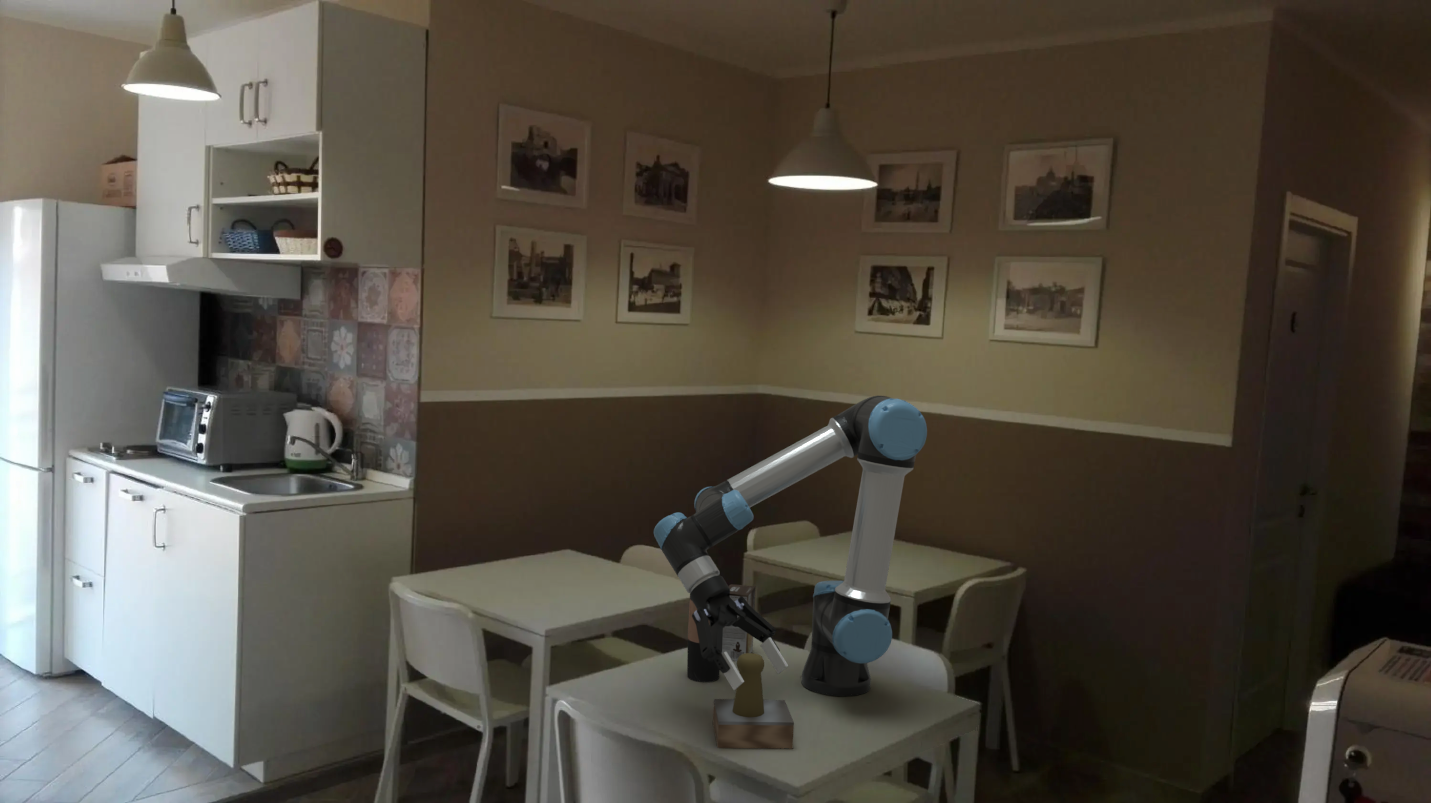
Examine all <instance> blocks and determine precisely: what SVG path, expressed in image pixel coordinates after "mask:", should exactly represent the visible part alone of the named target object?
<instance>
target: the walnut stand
mask: <svg viewBox="0 0 1431 803" xmlns="http://www.w3.org/2000/svg"><path fill="white" fill-rule="evenodd" d="M734 699H735V698H713V709H712V710H713V712H712V727H713V732H714V737H715V740H716V746H717V749H724V748H725V749H780V748H781V749H784V748H789V750H790V749H793V748H794V747H793V745H794V729H795V728H794V727H795V725H794V724H795V722H794V720H793V717H792V714H791V712H790V710H789V709H790V708H789V706H788V705H787V702H786V699H763V703H764V714H763V715H761V716H758V717H743V716H739V715H736V714H735V713H733V711H732V710H733V705H734Z"/></svg>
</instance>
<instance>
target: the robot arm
mask: <svg viewBox="0 0 1431 803" xmlns="http://www.w3.org/2000/svg"><path fill="white" fill-rule="evenodd" d="M926 422H927V421H926V418H925V417H924V415H923V414H922V413H921V411H920V410H919V409H918V408H917V407H916V406H914V405H913V404H912V403H910V402H908V401H907V400H904V399H900V398H892V397H890V396H887V395H873V396H869V397H866V398H864V399H862V400H861V401H859V402H857V403H855V404H853V405H852V406H850V407H849V408H847V409H845V410H844V411H841V412H840V413H839V414H836V415H834V416H832V417H831V418H830V419H829V421H828V424H827V426H824V427H822V428H820V429H819V430H817V431H814V432H813V433H811V434H810V435H808V436H806V437H804V438H802V439H800V440H798V441H796V442H795V443H793V444H791V445H790V446H787V447H786V448H784V449H781V450H780V451H778V452H776V453H774V454H772V455H771V456H769V457H767V458H766V459H763V460H761V461H759V462H757V463H756V464H754V465H752V466H751V467H748V468H746V469H745V470H743V471H741V472H740V473H737V474H736V475H734V476H732V477H730V478H728V479H726V480H724V481H723V482H721V483H718V484H717V485H715V486H706V487H703V488H702V489H701V490H699V492H697V494H696V496H695V499H694V503H693V504H694V511H695V513H694V514H692V515H691V516H688V517H687V516H685V514H684V513H682V512H674V513H672V514H670V515H667V516H665V517H663V518H662V519H661V520H659V521H658V523H657V524H656V525H655V527H654V529H653V535H654V538H655V540H656V542H657V544H658V546H659V548H660V550H661V551H662V554H663V555H664V557H665V558H666V560H667V562H668V563H669V564H670V567H671V568H672V569H673V571H674V573H675V574H676V576H677V577H678V579H679V581H680V582H681V584H682V585H683V587H684V589H685V591H686V592H687V593H688V594H689V599H690V598H691V600H692V601H693V603H694V605H695V606H696V608H697V610H696V611H695V612H694V613H693V614H692V618H693V620H694V622H695V624H696V628H697V633H698V639H699V644H700V649H701V655H702V657H703V658H704V659H706V658H707V659H708V661H710V662H712V661H713V660H714V661H715V663H716V664H717V666H718V668H719V669H720V673H722V674H723V675H724V677H725V678H726V680H727V682H728V684H729V685H730V687H731V688H732V690H733V691H736V689H737V688H738V687H739V686H740V685H741V684H742V683H743V682H744V680H743V678H742V677H741V675H740V673H739V670H738V668H737V666H736V665H735V663H734V661H732V660H731V658H730V657H729V655H728V653H727V652H723V653H722V640H723V628H724V627H725V626H731V625H732V626H734V627H739V628H740V629H742V630H743V631H745V632H747V633H748V634H750V635H751V636H753V639H756V640H758V641H759V642H760V643H761V644H760V647H761V649H762V651H763V652H764V654H765V656H766V657H767V659H768V660H769V662H770V664H771V665H772V667H773V668H774V670H775V671H776V674H778V675H779V674H781V673H782V672H783V671H784V670H786V668H787V667H789V665H788V663H787V661H786V658H784V656H783V655H782V653H781V650H780V648H779V647H778V645H777V643H776V642H775V640H774V638H773V636H774V635H775V634H776V632H777V629H776V628H775V627H774V626H773V624H771V623H770V622H769V621H768V620H767V619H765V618H764V617H763V616H762V615H761V614H760V613H759V612H758V611H757V610H755V608H754V609H753V608H752V607H751V606H750V605H749V604H748V603H747V601H746V600H745V599H744V597H742V596H741V597H740V598H739V599H737V600H736V601H733V600H732V599H731V598H730V588H729V585H728V584H727V582H726V580H725V579H724V576H721V575H720V570H719V568H718V567H717V564H716V563H715V562H714V560H713V559H712V557H711V556H710V554H709V553H708V551H707V550H709V549H711V548H712V547H714V546H716V545H717V544H720V542H722V541H724V540H725V539H727V538H729V537H730V536H732V535H733V534H735V533H737V532H738V531H740V530H743V529H744V528H745V527H746V526H747V525H749V524H750V523H752V521H753V520H754V519H755V518H754V513H753V511H752V510H751V507H754V506H755V505H757V504H759V503H761V502H762V501H765V500H766V499H768V498H770V497H771V496H774V495H776V494H778V493H779V492H781V491H783V490H785V489H787V488H788V487H790V486H792V485H794V484H796V483H798V482H799V481H802V480H803V479H805V478H807V477H809V476H810V475H813V474H814V473H816V472H819V471H820V470H822V469H824V468H826V467H827V466H829V465H831V464H833V463H835V462H837V461H839V460H841V459H843V458H844V457H847V458H850V459H852V458H854V457H856V456H857V459H856V460H857V462H858V463H859V464H860V466H861V468H862V472H861V478H860V484H859V490H858V496H857V500H856V502H857V503H856V509H855V514H854V520H853V527H852V531H851V537H850V544H849V549H848V555H847V562H846V566H845V572H844V580H823V581H819V582H817V583H816V584H815V585H814V589H813V590H814V591H813V592H814V593H813V594H812V598H813V604H812V624H811V644H810V646H811V647H810V651H809V653H808V656H807V659H806V661H805V664H804V666H803V669H802V672H801V684H802V686H803V687H804V688H805V689H807V690H809V691H811V692H814V693H818V694H820V695H826V696H833V697H834V696H835V697H836V696H837V697H853V696H859V695H863V694H866V693H867V692H869V691H870V690H871V688H872V687H871V682H872V677H871V674H870V669H869V666H868V663H873V662H875V661H877V660H878V659H880V658H881V657H882V656H884V655H885V654H886V652H888V649H889V648H890V646H891V643H892V640H893V630H892V625H891V623H890V620H889V613H890V608H891V601H892V598H891V597H890V595H889V593H888V592H887V591H886V586H887V582H888V575H889V568H890V564H891V559H892V558H891V557H892V552H893V545H894V540H895V535H896V530H897V529H896V528H897V523H898V516H899V511H900V505H901V499H902V494H903V488H904V482H905V476H906V475H908V474H909V473H910V472H912V471H913V470H914V467H915V463H916V462H915V461H916V457H917V454H918V453H919V452H920V451H921V450H922V448H924V446H925V444H926V441H927V436H928V428H927V426H928V425H927V423H926ZM737 615H738V616H739V617H738V618H737ZM708 620H709V621H710V624H709V621H708Z"/></svg>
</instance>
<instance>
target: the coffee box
mask: <svg viewBox="0 0 1431 803" xmlns="http://www.w3.org/2000/svg"><path fill="white" fill-rule="evenodd" d="M728 587H729V588H730V598H731V599H732V600H733V601H736V600H737V599H739V598H740V597H741V596H742V597H744V599H745V600H746V601H747V603H748V604H749V605H750V606H751V607H752V608H753V609H754V610H755V606H756V605H755V604H756V603H755V602H756V601H755V600H756V586H755V585H746V584H745V585H744V584H743V585H742V584H729V585H728ZM738 617H739V616H738V615H737V618H738ZM753 651H754V637H753V636H751V635H750V634H748V633H747V632H745V631H743V630H742V629H740V628H739V627H734V626H732V625H731V626H725V627H724V628H723V640H722V653H723V652H727V653H728V655H729V657H730V658H731V660H732V662H737V660H738V658H739V656H740V655H742V654H744V653H753Z"/></svg>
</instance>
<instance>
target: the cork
mask: <svg viewBox="0 0 1431 803" xmlns="http://www.w3.org/2000/svg"><path fill="white" fill-rule="evenodd" d="M736 668H737V670H738V672H739V673H740V675H741V677H742V678H743V680H744V682H743V683H742V684H741V685H740V686H739V687H738V688H737V689H735V694H734V698H733V699H734V705H733V710H732V711H733V713H735V714H736V715H739V716H743V717H758V716H761V715H763V714H764V703H763V700H764V694H763V681H762V680H763V679H762V672H763V671H764V668H765V659H764V658H763V656H761V655H760V654H758V653H753V652H752V653H744V654H742V655H740V656H739V658H738V660H737V661H736Z"/></svg>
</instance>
